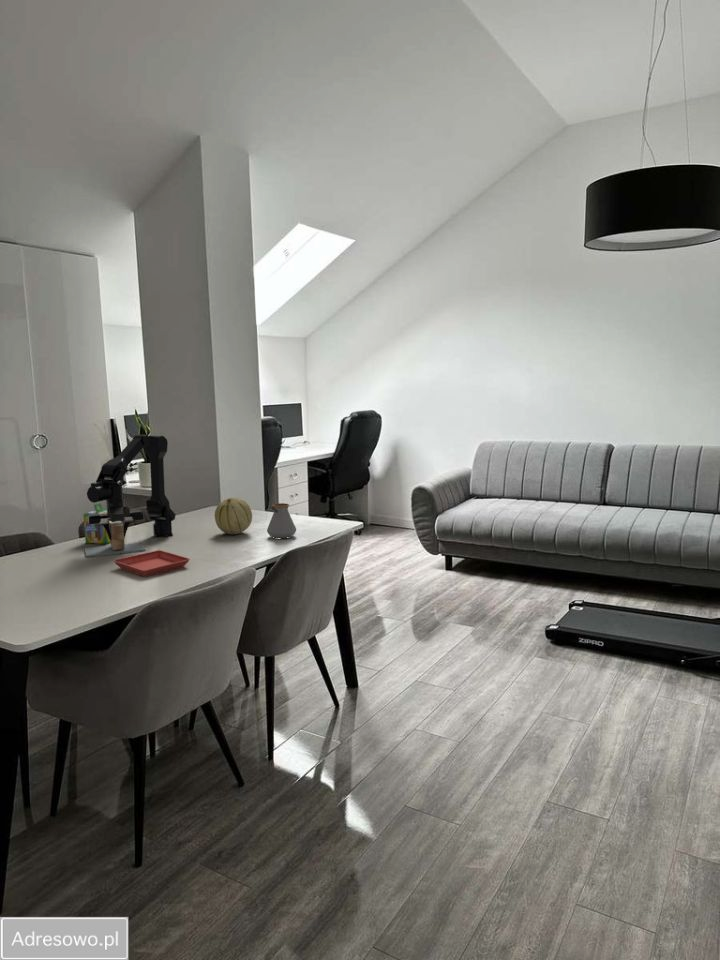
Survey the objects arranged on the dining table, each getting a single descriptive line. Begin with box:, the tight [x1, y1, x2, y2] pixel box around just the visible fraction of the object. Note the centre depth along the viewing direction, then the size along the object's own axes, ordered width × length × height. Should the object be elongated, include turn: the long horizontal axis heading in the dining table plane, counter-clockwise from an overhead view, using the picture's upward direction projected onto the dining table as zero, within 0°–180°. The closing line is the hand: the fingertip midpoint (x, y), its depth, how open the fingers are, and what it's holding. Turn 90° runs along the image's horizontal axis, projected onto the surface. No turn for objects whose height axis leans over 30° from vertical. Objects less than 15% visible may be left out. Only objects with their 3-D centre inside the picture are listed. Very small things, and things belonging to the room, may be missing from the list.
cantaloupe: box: [214, 497, 253, 535], centre depth 283 cm, size 15×15×15 cm
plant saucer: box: [113, 549, 191, 577], centre depth 235 cm, size 18×18×3 cm
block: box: [109, 521, 125, 550], centre depth 258 cm, size 4×8×9 cm, turn 24°
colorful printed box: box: [83, 502, 111, 545], centre depth 272 cm, size 9×9×15 cm
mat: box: [83, 542, 146, 558], centre depth 259 cm, size 20×12×1 cm, turn 114°
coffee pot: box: [266, 502, 297, 539], centre depth 272 cm, size 21×12×15 cm, turn 174°
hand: (117, 539), depth 259 cm, fingers closed on block, 4 cm apart
